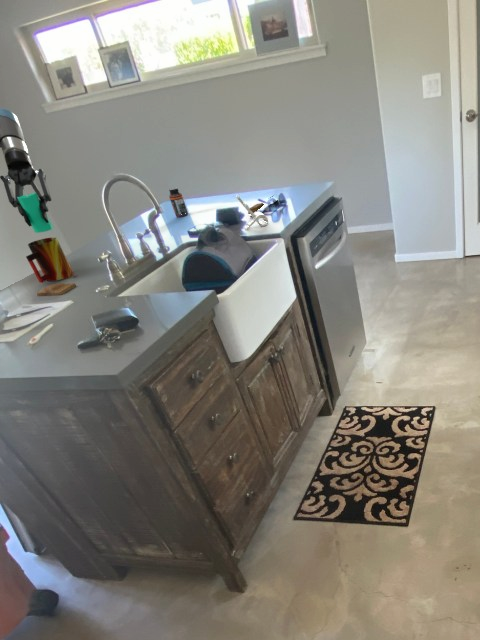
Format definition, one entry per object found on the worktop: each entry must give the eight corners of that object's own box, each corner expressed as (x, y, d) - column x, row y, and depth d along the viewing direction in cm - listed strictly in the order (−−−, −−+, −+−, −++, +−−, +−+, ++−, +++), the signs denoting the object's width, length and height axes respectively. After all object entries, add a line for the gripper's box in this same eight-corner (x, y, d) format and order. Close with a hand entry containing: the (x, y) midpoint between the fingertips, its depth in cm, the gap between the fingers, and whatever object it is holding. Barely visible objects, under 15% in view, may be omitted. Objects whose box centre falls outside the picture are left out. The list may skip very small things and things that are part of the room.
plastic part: (269, 225, 213) (261, 193, 206) (245, 230, 211) (237, 197, 204) (265, 221, 219) (258, 190, 211) (242, 226, 217) (234, 194, 209)
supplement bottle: (174, 216, 250) (165, 189, 243) (186, 213, 252) (177, 186, 245) (178, 218, 246) (168, 190, 239) (190, 215, 248) (181, 187, 241)
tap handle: (278, 193, 246) (252, 209, 225) (280, 201, 248) (254, 217, 227) (272, 194, 247) (246, 210, 226) (274, 201, 249) (248, 218, 228)
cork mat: (37, 296, 176) (35, 293, 175) (52, 287, 182) (51, 284, 181) (61, 294, 174) (60, 291, 173) (76, 286, 180) (75, 283, 179)
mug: (41, 286, 184) (21, 250, 176) (49, 275, 194) (31, 240, 186) (69, 281, 186) (51, 244, 178) (75, 270, 196) (58, 235, 188)
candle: (56, 227, 179) (37, 187, 171) (46, 231, 175) (26, 191, 167) (41, 228, 180) (21, 188, 172) (31, 233, 176) (10, 193, 168)
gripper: (50, 161, 178) (70, 223, 178) (-5, 170, 175) (14, 234, 174) (39, 144, 171) (60, 209, 170) (-18, 153, 168) (2, 220, 167)
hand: (37, 221), depth 172 cm, fingers closed on candle, 5 cm apart
